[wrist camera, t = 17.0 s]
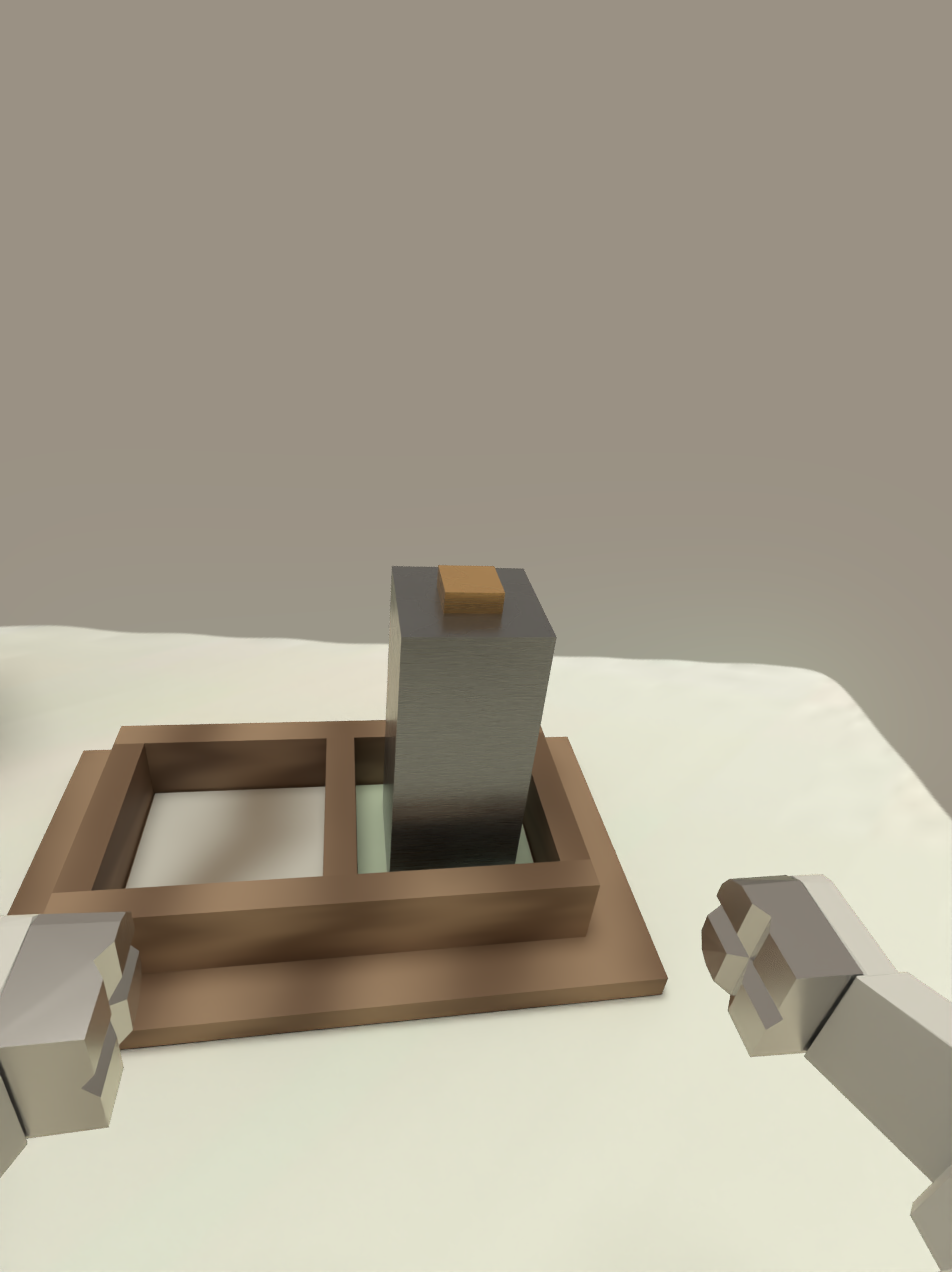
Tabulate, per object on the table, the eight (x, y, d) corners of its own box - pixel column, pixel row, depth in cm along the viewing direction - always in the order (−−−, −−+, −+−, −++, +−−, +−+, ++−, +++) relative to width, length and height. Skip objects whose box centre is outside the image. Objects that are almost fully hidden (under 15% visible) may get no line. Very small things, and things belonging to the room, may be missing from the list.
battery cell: (388, 894, 28) (402, 614, 21) (382, 803, 32) (392, 546, 26) (511, 886, 29) (560, 616, 22) (489, 798, 33) (525, 549, 27)
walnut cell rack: (-46, 1066, 22) (-86, 991, 20) (87, 766, 34) (71, 699, 32) (661, 994, 27) (688, 926, 25) (564, 751, 38) (576, 691, 36)
